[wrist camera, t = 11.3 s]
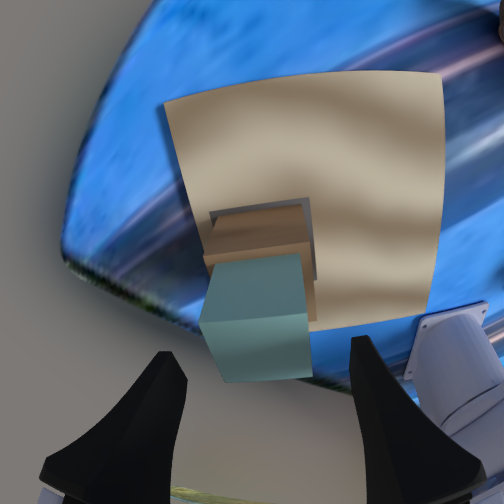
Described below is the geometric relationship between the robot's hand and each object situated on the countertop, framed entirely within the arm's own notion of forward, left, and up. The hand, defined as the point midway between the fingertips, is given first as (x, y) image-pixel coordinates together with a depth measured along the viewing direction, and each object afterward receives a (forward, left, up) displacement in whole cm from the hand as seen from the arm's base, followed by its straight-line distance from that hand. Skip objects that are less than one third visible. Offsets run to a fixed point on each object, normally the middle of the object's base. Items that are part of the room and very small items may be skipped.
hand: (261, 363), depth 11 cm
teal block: (0, 0, -4) cm, 4 cm away
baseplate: (+1, -4, -10) cm, 11 cm away
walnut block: (0, 0, -9) cm, 9 cm away
